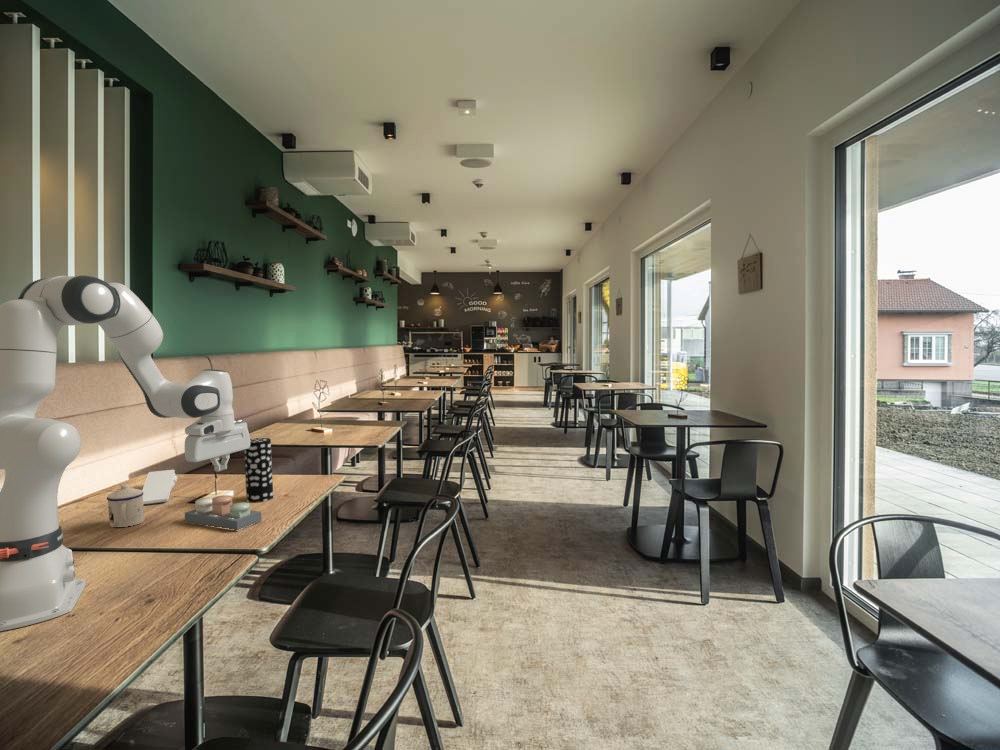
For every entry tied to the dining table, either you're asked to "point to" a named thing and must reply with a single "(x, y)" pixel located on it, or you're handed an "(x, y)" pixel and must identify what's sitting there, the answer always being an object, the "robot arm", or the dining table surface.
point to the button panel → (222, 519)
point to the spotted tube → (258, 470)
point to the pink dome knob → (221, 504)
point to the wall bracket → (158, 486)
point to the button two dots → (239, 510)
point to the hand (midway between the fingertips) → (220, 470)
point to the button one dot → (203, 505)
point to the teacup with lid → (125, 507)
